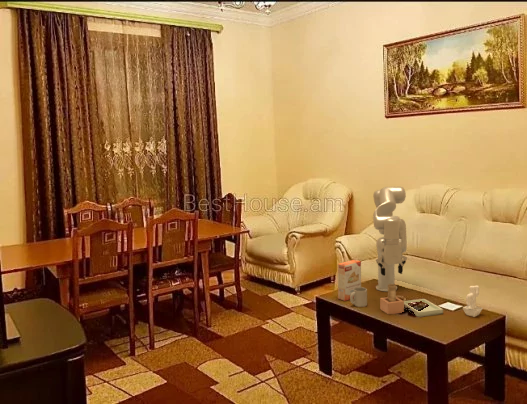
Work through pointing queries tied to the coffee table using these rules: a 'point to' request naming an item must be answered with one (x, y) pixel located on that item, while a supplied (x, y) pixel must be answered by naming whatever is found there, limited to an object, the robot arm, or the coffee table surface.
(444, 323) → the coffee table surface
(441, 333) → the coffee table surface
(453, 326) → the coffee table surface
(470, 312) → the figurine
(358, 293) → the cup
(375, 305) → the coffee table surface
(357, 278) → the cracker box
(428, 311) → the tray
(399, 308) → the holder
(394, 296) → the dowel
